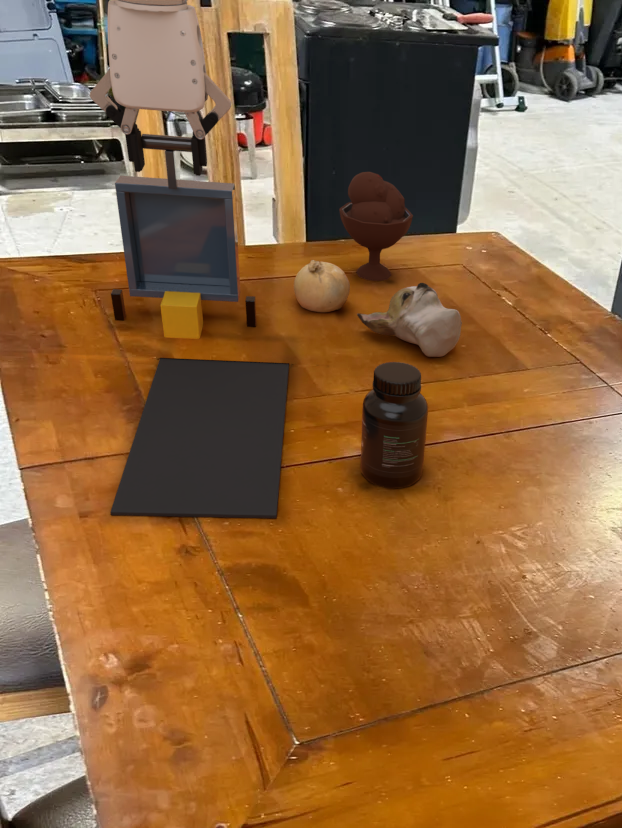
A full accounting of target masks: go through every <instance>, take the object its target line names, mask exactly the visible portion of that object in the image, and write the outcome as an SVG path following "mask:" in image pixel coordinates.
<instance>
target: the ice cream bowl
mask: <svg viewBox="0 0 622 828" xmlns="http://www.w3.org/2000/svg"><path fill="white" fill-rule="evenodd" d="M347 196H348V198H349V199H350V201H349V202H346V203H345V204H344V205H343V206H341V207H339V216H340V220H341V223H342V226H343V228H344V229H345V230H346V232H347V233H348V235H349V236H350V237H351V238H352V239H353V241H354V242H355V243H357V244H358V245H359V246H361V247H364V248H366V249H367V251H368V262H366V263H363V264H362V265H360V266H359V267H358V268H357V269H356V271H355V273H356V275H357V276H358V277H359V278H361V279H363V280H366V281H374V282H380V281H381V282H382V281H387V280H389V279H390V278H391V277H392V272H391V270H390V269H389V267H387V266H385V265H384V264H382V263H381V253H382V250H385V249H389V248H391V247H393V246H394V245H396V244H397V243H398V242H399V241H400V240H401V239H402V238H403V237H404V236H405V235H406V234H407V233H408V232H409V229H410V228H411V225H412V221H413V217H414V215H413V214H412V212H411V211H410V210H409V209H408V208H407V207H406V203H405V201H406V199H405V198H404V196H403V195H402V193H401V191H400V190H399V189H398V188H397V187H396V186H395V185H394V184H392V183H391V182H389V181H386V180H384V178H383V177H382V175H380V174H378V173H375V172H372V171H362V172H359V173H357V174H355V176H353V177H352V179H351V180H350V183H349V185H348V187H347Z"/></svg>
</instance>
